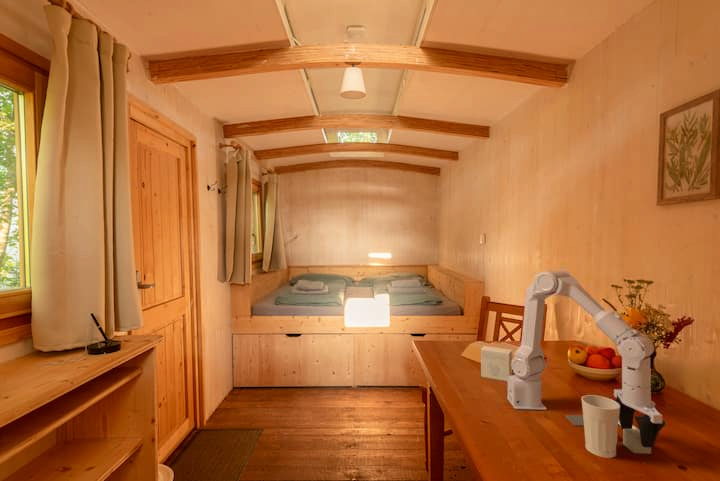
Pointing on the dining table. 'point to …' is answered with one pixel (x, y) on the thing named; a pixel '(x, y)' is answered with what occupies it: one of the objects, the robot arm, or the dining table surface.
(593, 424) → the cup
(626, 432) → the block
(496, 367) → the skincare box
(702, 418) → the dining table surface
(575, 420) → the mat
